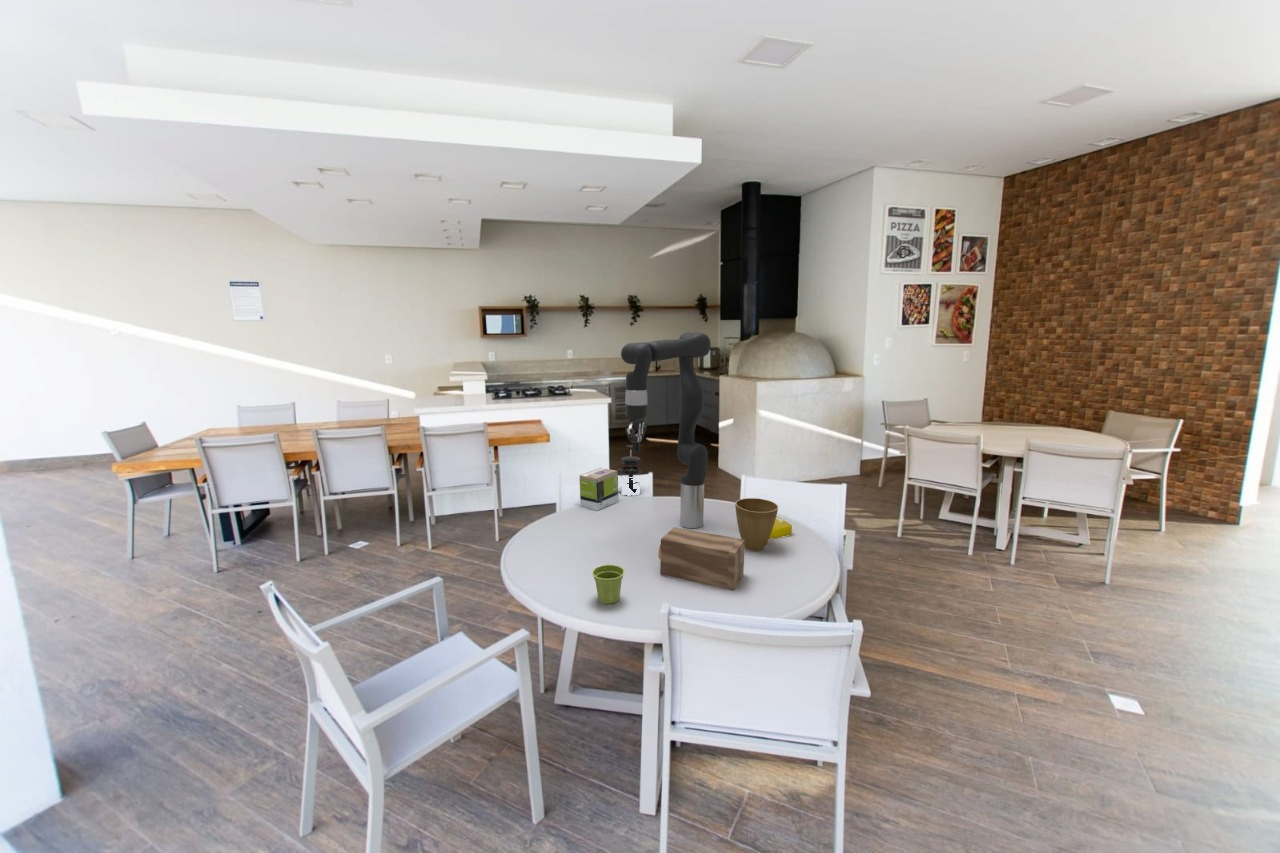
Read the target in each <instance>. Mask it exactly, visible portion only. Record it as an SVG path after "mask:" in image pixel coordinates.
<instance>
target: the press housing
mask: <svg viewBox="0 0 1280 853" xmlns="http://www.w3.org/2000/svg"><path fill="white" fill-rule="evenodd" d="M660 544H661V557H660V559H659V561H660V562H659V563H660V568H659V570H660V576H665V577H671V578H673V579H678V580H684V581H688V582H693V583H698V584H703V585H705V586H706V585H707V586H710V587H711V586H712V587H716V588H721V589H724V590H729V591H734V590H735V589H736V588H737V586H738V584H739V583H740V581H741V579H742V578H743V577H744V567H745V540H744V539H741V538H737V537H731V536H725V535H720V534H715V533H710V532H703V531H699V530H698V531H696V530H692V529H687V528H686V529H685V528H679V527H673V528H671V529H670V530H669V531H668V532H667V533H666V534H664V536H662V538H660Z"/></svg>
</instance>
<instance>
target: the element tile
mask: <svg viewBox="0 0 1280 853" xmlns="http://www.w3.org/2000/svg"><path fill="white" fill-rule="evenodd" d="M792 527H793V525H792V524H791V523H790V522H788V521H786V520H784V519H782V518H780V517H778V515H776V519H775V523H774V526H773V529H772V532H771V535H770V537H769V540H772V539H771V538H775V539H778V538H777V537H781V538H783V537H782V536H786V537H788V536H787V535H791V536H792V532H793V528H792Z"/></svg>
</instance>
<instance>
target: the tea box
mask: <svg viewBox="0 0 1280 853" xmlns="http://www.w3.org/2000/svg"><path fill="white" fill-rule="evenodd" d="M618 486H619V472H618V473H617V469H616V470H615V469H610V468H609V469H608V468H603V467H599V468H596V469H593V470H590V471H587V472H585V473H581V474H579V497H580V498H579V499H580V507H581V508H584V509H588V510H592V511H596V512H597V511H600V510H602V509H604V508H607V507H609V506H611V505H613V504H616V503H618V502H619V488H618Z"/></svg>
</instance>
